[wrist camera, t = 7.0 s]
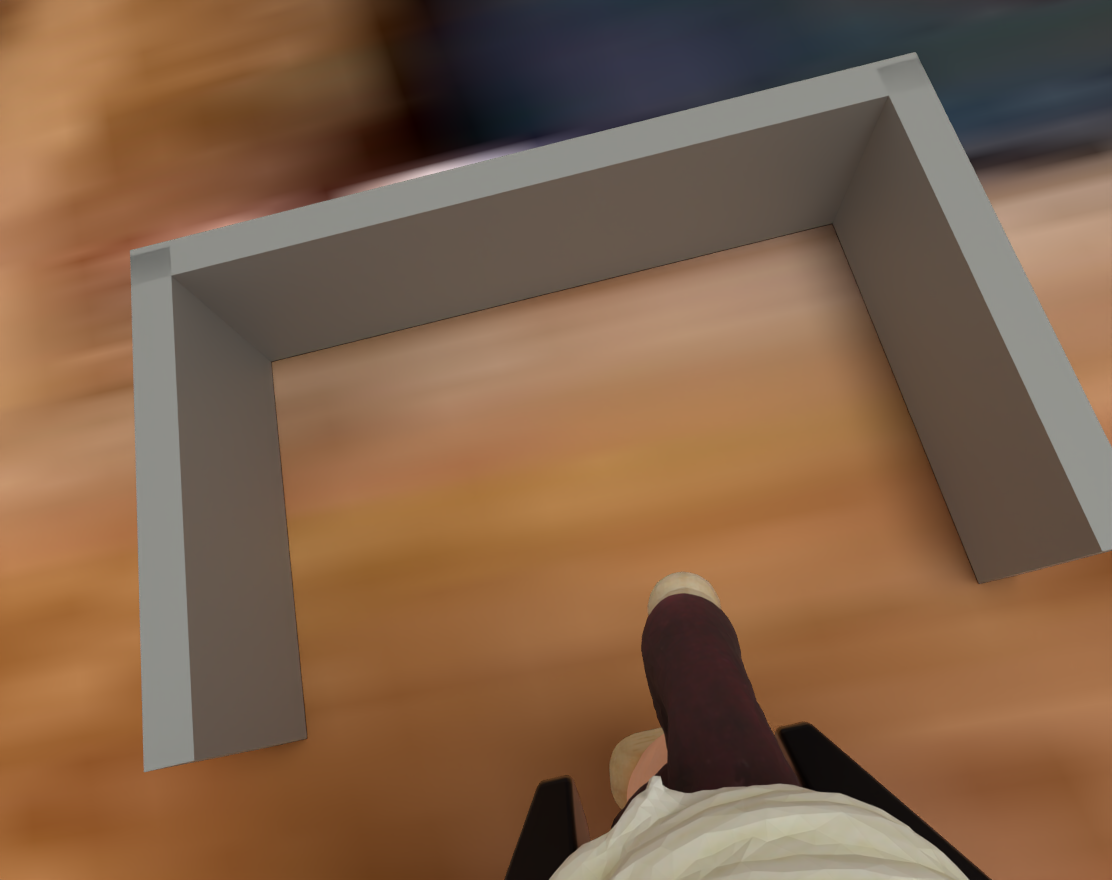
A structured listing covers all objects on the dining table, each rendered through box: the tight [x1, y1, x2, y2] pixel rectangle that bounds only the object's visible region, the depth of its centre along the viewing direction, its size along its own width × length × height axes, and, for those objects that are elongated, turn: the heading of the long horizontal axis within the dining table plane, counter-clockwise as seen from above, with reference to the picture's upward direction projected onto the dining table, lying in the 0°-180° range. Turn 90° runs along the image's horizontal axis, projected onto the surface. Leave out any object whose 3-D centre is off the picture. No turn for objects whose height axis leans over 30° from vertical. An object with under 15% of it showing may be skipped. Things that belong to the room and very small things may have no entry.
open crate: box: [130, 52, 1112, 772], centre depth 21 cm, size 14×23×6 cm, turn 102°
